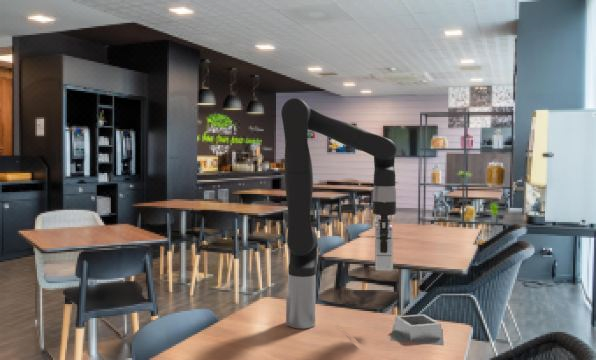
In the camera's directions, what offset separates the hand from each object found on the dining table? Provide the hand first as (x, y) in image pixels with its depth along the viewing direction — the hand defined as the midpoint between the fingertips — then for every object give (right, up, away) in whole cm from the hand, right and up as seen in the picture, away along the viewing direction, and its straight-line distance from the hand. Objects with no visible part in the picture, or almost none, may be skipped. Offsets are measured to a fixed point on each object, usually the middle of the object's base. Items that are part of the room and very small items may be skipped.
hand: (383, 250), depth 173 cm
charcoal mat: (+9, -26, -9) cm, 29 cm away
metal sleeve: (+9, -25, -9) cm, 28 cm away
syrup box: (0, -6, 0) cm, 6 cm away
